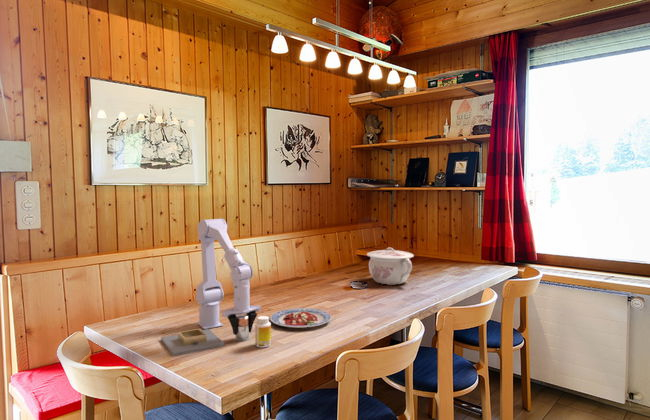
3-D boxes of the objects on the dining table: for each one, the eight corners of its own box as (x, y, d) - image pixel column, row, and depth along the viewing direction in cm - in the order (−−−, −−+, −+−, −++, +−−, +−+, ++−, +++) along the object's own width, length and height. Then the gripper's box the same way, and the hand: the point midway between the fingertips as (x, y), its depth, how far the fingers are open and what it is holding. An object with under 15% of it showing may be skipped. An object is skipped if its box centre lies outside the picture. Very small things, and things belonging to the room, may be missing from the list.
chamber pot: (367, 276, 277) (367, 243, 275) (412, 278, 273) (412, 244, 272) (364, 287, 249) (365, 250, 248) (415, 289, 245) (415, 251, 244)
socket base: (161, 340, 167) (161, 337, 167) (208, 331, 176) (208, 328, 176) (173, 356, 152) (173, 353, 151) (224, 345, 161) (224, 343, 161)
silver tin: (233, 338, 169) (233, 314, 168) (246, 335, 171) (245, 312, 171) (238, 342, 164) (238, 318, 164) (251, 339, 167) (251, 316, 167)
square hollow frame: (177, 337, 166) (176, 331, 166) (199, 333, 171) (198, 327, 170) (184, 346, 157) (184, 340, 157) (207, 342, 162) (207, 335, 161)
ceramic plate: (262, 316, 196) (262, 310, 196) (317, 310, 206) (317, 303, 206) (280, 335, 172) (280, 328, 172) (341, 327, 183) (341, 320, 182)
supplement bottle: (274, 345, 162) (274, 317, 161) (262, 349, 158) (261, 320, 157) (264, 341, 166) (264, 314, 165) (252, 345, 162) (252, 317, 161)
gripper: (226, 302, 160) (227, 339, 161) (264, 296, 167) (264, 332, 168) (220, 297, 166) (220, 333, 167) (256, 292, 173) (256, 327, 174)
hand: (242, 332), depth 168 cm, fingers closed on silver tin, 5 cm apart
